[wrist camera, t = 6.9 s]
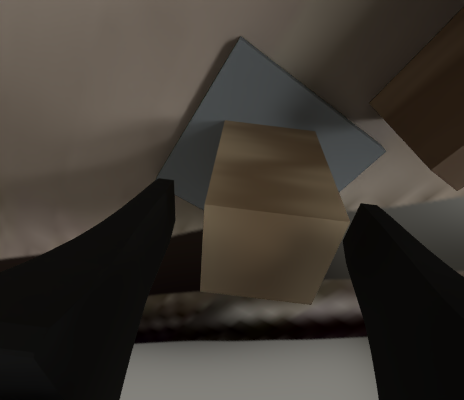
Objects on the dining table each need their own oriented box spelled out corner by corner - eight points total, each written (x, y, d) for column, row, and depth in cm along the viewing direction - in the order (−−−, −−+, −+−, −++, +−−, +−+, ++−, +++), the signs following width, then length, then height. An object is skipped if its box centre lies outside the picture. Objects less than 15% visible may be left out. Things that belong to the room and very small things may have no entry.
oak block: (315, 131, 13) (350, 222, 8) (294, 202, 15) (311, 304, 10) (224, 120, 13) (204, 204, 8) (218, 193, 15) (200, 291, 10)
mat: (381, 145, 13) (386, 151, 13) (274, 241, 18) (274, 248, 17) (240, 36, 11) (239, 38, 11) (156, 177, 15) (153, 183, 15)
